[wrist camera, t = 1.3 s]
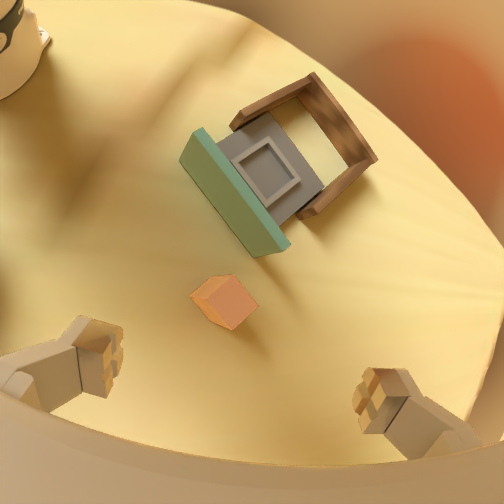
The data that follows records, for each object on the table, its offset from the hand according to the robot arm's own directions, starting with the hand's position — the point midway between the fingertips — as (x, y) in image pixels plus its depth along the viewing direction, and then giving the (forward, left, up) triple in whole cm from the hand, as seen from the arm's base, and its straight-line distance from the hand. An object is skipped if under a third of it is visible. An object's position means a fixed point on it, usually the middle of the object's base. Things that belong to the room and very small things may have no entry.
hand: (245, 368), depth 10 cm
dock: (-5, +32, -33) cm, 46 cm away
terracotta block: (+4, +6, -33) cm, 34 cm away
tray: (-5, +23, -33) cm, 40 cm away
